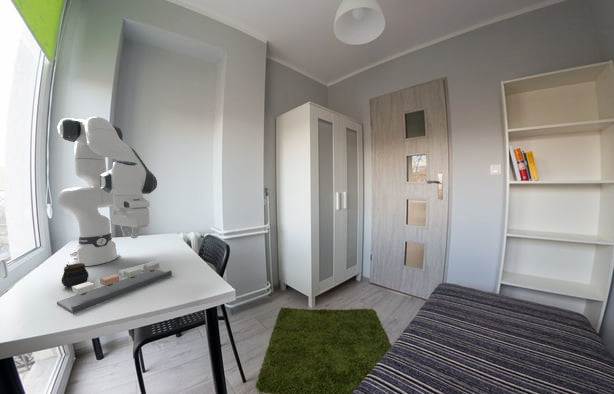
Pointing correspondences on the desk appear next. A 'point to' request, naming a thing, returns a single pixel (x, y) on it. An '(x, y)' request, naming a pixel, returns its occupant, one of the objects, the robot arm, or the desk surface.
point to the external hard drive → (133, 267)
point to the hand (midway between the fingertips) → (130, 237)
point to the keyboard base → (111, 291)
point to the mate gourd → (74, 275)
